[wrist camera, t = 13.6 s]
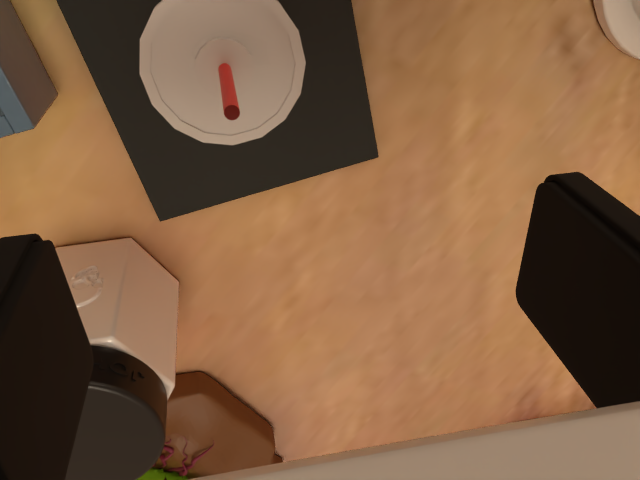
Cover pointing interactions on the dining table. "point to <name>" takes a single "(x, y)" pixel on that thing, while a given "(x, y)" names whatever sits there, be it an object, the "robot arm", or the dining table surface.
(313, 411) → the dining table surface
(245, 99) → the beverage cup
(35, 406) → the robot arm
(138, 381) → the jar
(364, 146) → the mat
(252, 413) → the plant
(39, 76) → the blue-grey open box
